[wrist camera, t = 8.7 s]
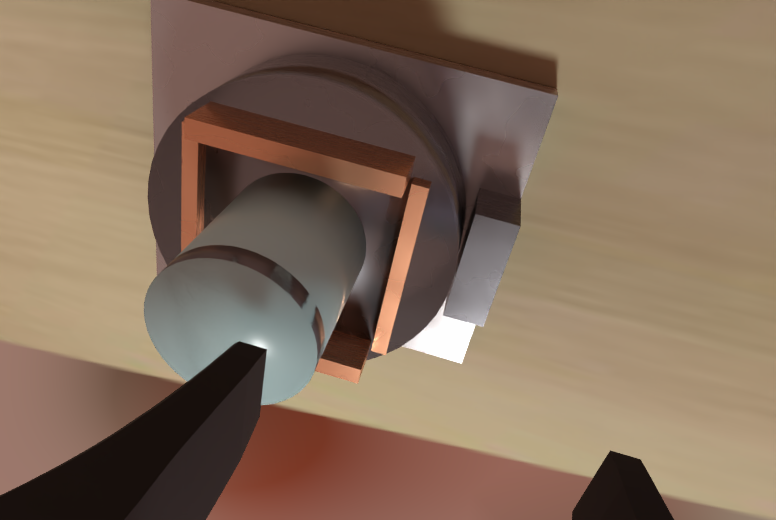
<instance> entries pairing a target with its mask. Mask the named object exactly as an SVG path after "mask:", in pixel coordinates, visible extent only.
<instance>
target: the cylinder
mask: <svg viewBox="0 0 776 520" xmlns="http://www.w3.org/2000/svg"><path fill="white" fill-rule="evenodd" d="M365 256H366V238H365V232H364V229H363V226H362V223H361V221H360V219H359V217H358V215H357V213H356V212H355V210H354V209H353V207H352V206H351V205H350V203H349V202H348V201H347V200H346V199H345V198H344V197H343V196H342V195H341V194H340V193H339V192H337V191H336V190H335V189H333V188H332V187H330V186H329V185H327V184H326V183H324V182H322V181H320V180H318V179H315V178H312V177H310V176H307V175H302V174H297V173H276V174H270V175H267V176H264V177H261V178H259V179H257V180H255V181H254V182H252V183H251V184H250V185H248V186H247V187H246V188H245V189H244V190H243V191H242V192H241V193H240V194H239V195H238V196H237V197H236V198H235V199H234V200H233V201H232V202H231V203H230V204H229V205H228V206H227V207H226V208H225V209H224V210H223V211H222V212H221V213H220V214H219V215H218V216H217V217H216V218H215V219H214V220H213V221H212V222H211V223H210V224H209V225H208V226H207V227H206V228H205V229H204V230H203V231H202V232H201V233H200V234H199V235H198V236H197V237H196V238H195V239H194V240H193V241H192V242H191V243H190V244H189V245H188V246H187V247H186V248H185V249H184V250H183V251H182V252H181V253H180V254H179V255H178V256H177V257H176V258H175V259H174V260H173V261H172V262H171V263H170V264H169V265H168V266H167V267H166V268H165V269H164V270H162V271H161V272H160V274H159V275H158V276H157V277H156V278H155V279H154V280H153V282H152V283H151V285H150V286H149V289H148V291H147V293H146V297H145V302H144V317H145V323H146V327H147V331H148V333H149V336H150V338H151V340H152V342H153V344H154V346H155V348H156V349H157V351H158V352H159V354H160V355H161V356H162V358H163V359H164V360H165V361H166V363H167V364H168V365H169V366H170V367H171V368H172V369H173V370H174V371H175V372H176V373H177V374H179V375H180V376H181V377H182V378H183V379H185V380H186V381H187V382H188V381H189V380H190V379H192V378H193V377H194V376H195V375H197V374H198V373H199V372H200V371H202V370H203V369H204V368H205V367H207V366H208V365H209V364H210V363H212V362H213V361H214V360H215V359H216V358H218V357H219V356H220V355H221V354H222V353H224V352H225V351H226V350H227V349H228V348H230V347H231V346H232V345H233V344H234V343H237V342H239V341H241V342H244V343H247V344H251V345H254V346H258V347H261V348H264V349H267V354H266V363H265V372H264V381H263V390H262V399H261V405H268V404H274V403H278V402H281V401H284V400H286V399H289V398H291V397H293V396H294V395H296V394H297V393H299V392H300V391H301V390H302V389H303V388H304V387H305V386H306V385H307V384H308V382H309V381H310V379H311V377H312V375H313V373H314V371H315V369H316V367H317V365H318V363H319V360H320V358H321V356H322V354H323V352H324V349H325V347H326V345H327V343H328V341H329V338H330V336H331V334H332V332H333V330H334V328H335V325H336V323H337V321H338V319H339V317H340V314H341V312H342V310H343V308H344V306H345V304H346V301H347V299H348V297H349V295H350V293H351V290H352V288H353V286H354V284H355V282H356V280H357V277H358V275H359V273H360V271H361V269H362V266H363V264H364V260H365Z"/></svg>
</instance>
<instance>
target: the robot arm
mask: <svg viewBox="0 0 776 520" xmlns="http://www.w3.org/2000/svg"><path fill="white" fill-rule="evenodd" d="M266 354H267V349H264V348H261V347H258V346H254V345H251V344H247V343H244V342H241V341H239V342H237V343H234V344H233V345H232V346H231V347H230V348H228V349H227V350H226V351H225V352H224V353H222V354H221V355H220V356H219V357H218V358H216V359H215V360H214V361H213V362H212V363H210V364H209V365H208V366H207V367H205V368H204V369H203V370H202V371H200V372H199V373H198V374H197V375H195V376H194V377H193V378H192V379H190V380H189V381H188V382H186V383H185V384H184V385H182V386H181V387H180V388H179V389H177V390H176V391H174V392H173V393H172V394H170V395H169V396H168V397H166V398H165V399H164V400H162V401H161V402H160V403H158V404H157V405H155V406H154V407H152V408H151V409H150V410H148V411H147V412H145V413H144V414H142V415H141V416H139V417H138V418H136V419H135V420H133V421H132V422H130V423H129V424H127V425H126V426H124V427H123V428H121V429H120V430H118V431H117V432H115V433H114V434H112V435H110V436H109V437H107V438H106V439H104V440H102V441H101V442H99V443H97V444H96V445H94V446H92V447H91V448H89V449H88V450H86V451H84V452H82V453H80V454H79V455H77V456H75V457H74V458H72V459H70V460H68V461H66V462H65V463H63V464H61V465H59V466H57V467H55V468H54V469H52V470H50V471H48V472H46V473H44V474H42V475H40V476H38V477H36V478H35V479H32V480H31V481H29V482H27V483H25V484H23V485H21V486H19V487H17V488H15V489H13V490H11V491H9V492H6V493H5V494H2V495H0V520H206V518H207V517H208V515H209V513H210V511H211V510H212V508H213V506H214V505H215V503H216V501H217V499H218V498H219V496H220V495H221V493H222V491H223V489H224V488H225V486H226V484H227V482H228V481H229V479H230V477H231V476H232V474H233V472H234V470H235V468H236V467H237V465H238V463H239V462H240V460H241V457H242V455H243V453H244V451H245V448H246V446H247V444H248V442H249V440H250V437H251V435H252V433H253V430H254V428H255V426H256V423H257V421H258V419H259V417H260V408H261V399H262V390H263V381H264V372H265V363H266ZM572 520H674V519H673V517H672V515H671V514H670V512H669V510H668V508H667V506H666V504H665V503H664V501H663V499H662V497H661V495H660V494H659V492H658V490H657V488H656V486H655V484H654V483H653V481H652V479H651V477H650V475H649V474H648V472H647V470H646V468H645V466H644V465H643V463H642V461H641V460H640V459H637V458H634V457H630V456H627V455H623V454H620V453H617V452H613V451H610V452H609V453H608V455H607V457H606V458H605V460H604V461H603V463H602V465H601V466H600V468H599V469H598V471H597V473H596V474H595V476H594V478H593V479H592V481H591V482H590V484H589V486H588V487H587V489H586V491H585V492H584V494H583V495H582V497H581V499H580V500H579V502H578V503H577V505H576V507H575V508H574V510H573V512H572Z"/></svg>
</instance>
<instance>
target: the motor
mask: <svg viewBox="0 0 776 520" xmlns="http://www.w3.org/2000/svg"><path fill="white" fill-rule="evenodd" d="M151 35H152V79H153V123H154V158H153V161H152V165H151V170H150V175H149V182H148V204H149V215H150V220H151V224H152V228H153V233H154V236H155V239H156V255H157V275H159V274H160V272H161V271H162V270H164V269H165V268H166V267H167V266H168V265H169V264H170V263H171V262H172V261H173V260H174V259H175V258H176V257H177V256H178V255H179V254H180V253H181V252H182V251H183V250H184V249H185V248H186V247H187V246H188V245H189V244H190V243H191V242H192V241H193V240H194V239H195V238H196V237H197V236H198V235H199V234H200V233H201V232H202V231H203V230H204V229H205V228H206V227H207V226H208V225H209V224H210V223H211V222H212V221H213V220H214V219H215V218H216V217H217V216H218V215H219V214H220V213H221V212H222V211H223V210H224V209H225V208H226V207H227V206H228V205H229V204H230V203H231V202H232V201H233V200H234V199H235V198H236V197H237V196H238V195H239V194H240V193H241V192H242V191H243V190H244V189H245V188H246V187H247V186H248V185H250V184H251V183H252V182H254V181H255V180H257V179H259V178H261V177H264V176H267V175H270V174H276V173H297V174H302V175H307V176H310V177H312V178H315V179H318V180H320V181H322V182H324V183H326V184H327V185H329V186H330V187H332V188H333V189H335V190H336V191H337V192H339V193H340V194H341V195H342V196H343V197H344V198H345V199H346V200H347V201H348V202H349V203H350V205H351V206H352V207H353V209H354V210H355V212H356V213H357V215H358V217H359V219H360V221H361V223H362V226H363V229H364V232H365V238H366V256H365V260H364V264H363V266H362V269H361V271H360V273H359V275H358V277H357V280H356V282H355V284H354V286H353V288H352V290H351V293H350V295H349V297H348V299H347V301H346V304H345V306H344V308H343V310H342V312H341V314H340V317H339V319H338V321H337V323H336V325H335V328H334V330H333V332H332V334H331V336H330V338H329V341H328V343H327V345H326V347H325V349H324V352H323V354H322V356H321V358H320V360H319V363H318V365H317V367H316V369H315V371H317V372H321V373H324V374H327V375H331V376H334V377H337V378H341V379H344V380H348V381H351V382H354V383H358V382H359V379H360V376H361V373H362V370H363V367H364V365H365V362H366V360H369V359H372V358H375V357H378V356H381V355H386V354H387V353H389V352H391V351H393V350H395V349H397V348H399V347H401V346H403V347H407V348H410V349H414V350H417V351H421V352H424V353H427V354H431V355H434V356H438V357H441V358H445V359H448V360H452V361H455V362H458V363H462V360H463V357H464V355H465V352H466V349H467V346H468V344H469V341H470V338H471V335H472V332H473V330H474V327H475V325H478V326H481V327H483V326H484V323H485V320H486V318H487V315H488V312H489V310H490V307H491V304H492V301H493V299H494V296H495V293H496V291H497V288H498V285H499V283H500V280H501V277H502V275H503V272H504V269H505V267H506V264H507V261H508V258H509V256H510V253H511V250H512V248H513V245H514V242H515V240H516V237H517V234H518V232H519V229H520V224H521V197H522V194H523V191H524V189H525V186H526V183H527V180H528V178H529V175H530V172H531V169H532V167H533V164H534V161H535V158H536V156H537V153H538V150H539V147H540V144H541V142H542V139H543V136H544V133H545V131H546V128H547V125H548V122H549V120H550V117H551V114H552V111H553V109H554V106H555V103H556V100H557V97H558V92H557V89H555V88H551V87H548V86H544V85H540V84H536V83H532V82H528V81H524V80H520V79H516V78H512V77H509V76H505V75H501V74H497V73H493V72H489V71H485V70H481V69H477V68H473V67H470V66H466V65H462V64H458V63H454V62H450V61H446V60H442V59H438V58H434V57H431V56H427V55H423V54H419V53H415V52H411V51H407V50H403V49H399V48H395V47H392V46H388V45H384V44H380V43H376V42H372V41H368V40H364V39H360V38H356V37H353V36H349V35H345V34H341V33H337V32H333V31H329V30H325V29H321V28H318V27H314V26H310V25H306V24H302V23H298V22H294V21H290V20H286V19H282V18H279V17H275V16H271V15H267V14H263V13H259V12H255V11H251V10H247V9H243V8H240V7H236V6H232V5H228V4H224V3H220V2H216V1H212V0H151Z"/></svg>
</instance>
